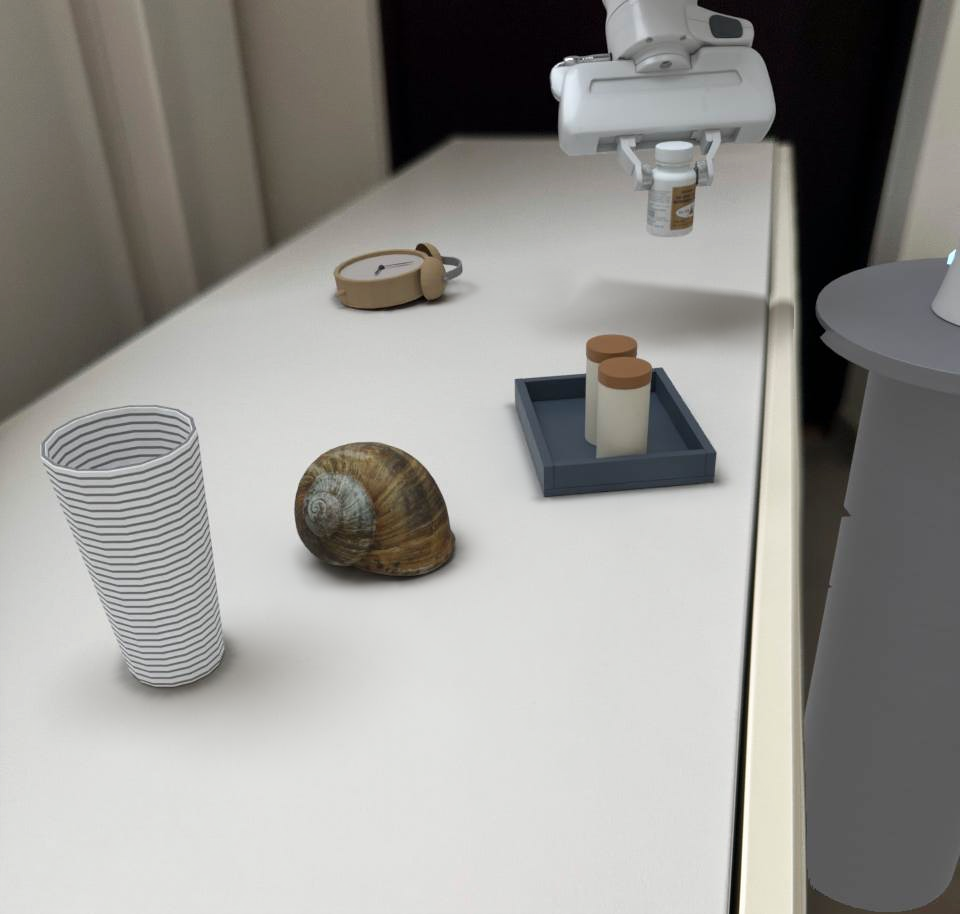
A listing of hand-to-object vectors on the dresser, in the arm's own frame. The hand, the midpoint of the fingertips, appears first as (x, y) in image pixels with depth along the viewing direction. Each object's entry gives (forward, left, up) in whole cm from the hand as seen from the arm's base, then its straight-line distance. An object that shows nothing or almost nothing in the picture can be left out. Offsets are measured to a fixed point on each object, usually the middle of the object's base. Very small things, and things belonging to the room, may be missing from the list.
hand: (674, 185), depth 98 cm
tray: (+10, +21, -15) cm, 28 cm away
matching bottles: (+10, +24, -15) cm, 30 cm away
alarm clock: (+26, -22, -16) cm, 38 cm away
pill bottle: (0, -1, -5) cm, 5 cm away
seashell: (+30, +36, -16) cm, 49 cm away
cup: (+43, +47, -16) cm, 65 cm away
